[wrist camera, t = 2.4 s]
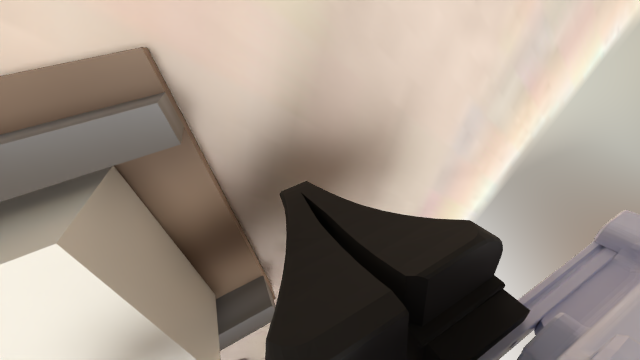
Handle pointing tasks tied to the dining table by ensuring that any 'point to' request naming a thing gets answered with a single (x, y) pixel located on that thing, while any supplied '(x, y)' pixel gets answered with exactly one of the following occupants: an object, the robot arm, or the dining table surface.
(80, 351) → the white flat square block
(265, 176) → the dining table surface
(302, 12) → the dining table surface
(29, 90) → the bay
